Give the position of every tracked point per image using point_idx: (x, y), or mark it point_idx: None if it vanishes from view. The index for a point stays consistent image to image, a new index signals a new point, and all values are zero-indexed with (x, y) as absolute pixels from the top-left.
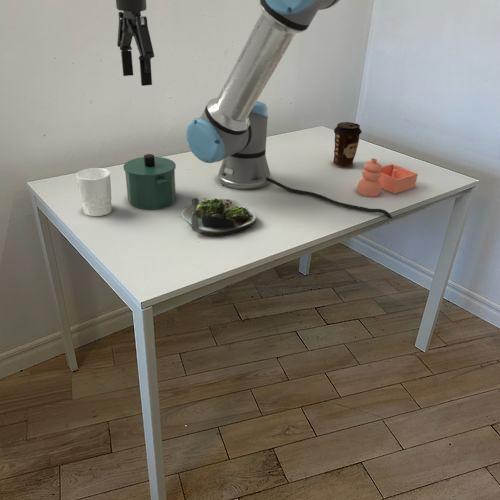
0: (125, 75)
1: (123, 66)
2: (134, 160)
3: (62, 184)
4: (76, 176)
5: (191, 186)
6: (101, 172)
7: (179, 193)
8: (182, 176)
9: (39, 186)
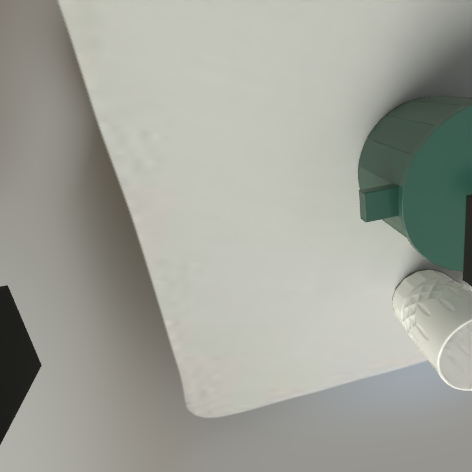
0: (34, 356)
1: (3, 433)
2: (421, 230)
3: (234, 361)
4: (470, 388)
5: (384, 17)
6: (449, 326)
7: (417, 75)
8: (289, 20)
9: (230, 404)
